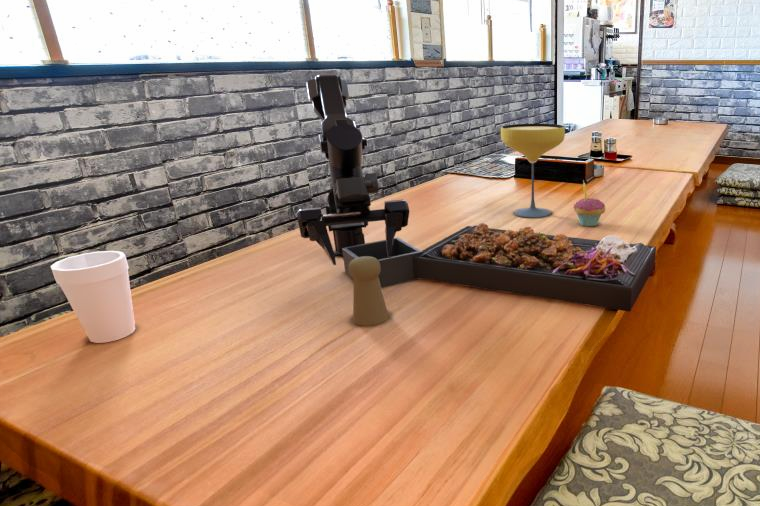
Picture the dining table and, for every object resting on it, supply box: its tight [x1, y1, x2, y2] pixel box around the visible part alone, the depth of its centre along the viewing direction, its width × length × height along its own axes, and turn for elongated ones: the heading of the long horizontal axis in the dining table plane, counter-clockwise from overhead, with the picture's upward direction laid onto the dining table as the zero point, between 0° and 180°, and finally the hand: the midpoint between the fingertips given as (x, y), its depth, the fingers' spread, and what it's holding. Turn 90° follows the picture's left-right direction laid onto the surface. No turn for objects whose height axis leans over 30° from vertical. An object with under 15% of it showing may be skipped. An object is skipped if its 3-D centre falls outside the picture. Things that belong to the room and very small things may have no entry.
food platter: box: [412, 222, 657, 313], centre depth 109 cm, size 45×25×10 cm, turn 66°
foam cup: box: [50, 250, 136, 344], centre depth 86 cm, size 10×9×13 cm
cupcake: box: [573, 179, 606, 227], centre depth 144 cm, size 9×8×12 cm
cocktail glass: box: [500, 123, 566, 219], centre depth 153 cm, size 18×18×25 cm
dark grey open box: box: [342, 236, 423, 288], centre depth 111 cm, size 13×13×6 cm
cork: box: [349, 256, 389, 327], centre depth 90 cm, size 6×6×11 cm
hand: (362, 260), depth 91 cm, fingers open, 9 cm apart
